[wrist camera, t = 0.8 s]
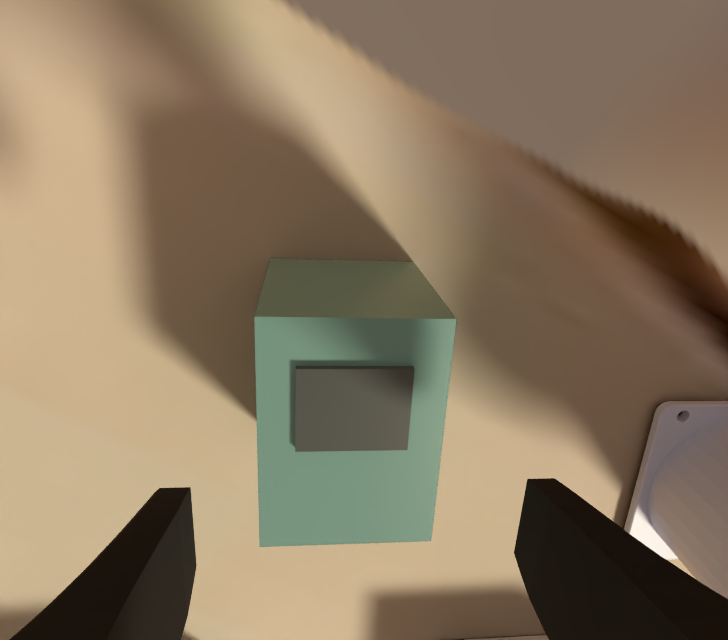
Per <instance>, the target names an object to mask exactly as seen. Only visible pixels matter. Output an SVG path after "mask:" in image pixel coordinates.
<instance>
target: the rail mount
mask: <svg viewBox="0 0 728 640" xmlns="http://www.w3.org/2000/svg"><path fill="white" fill-rule="evenodd" d="M466 640H549V639H548V637H547V635H536V636H519V637H501V638H484V639H466Z"/></svg>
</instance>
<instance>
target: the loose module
mask: <svg viewBox="0 0 728 640" xmlns="http://www.w3.org/2000/svg"><path fill="white" fill-rule="evenodd" d="M456 320H457V319H456V318H455V316H454V315H453V314H452V312H451V311H450V310H449V308H448V307H447V306H446V304H445V303H444V302H443V300H442V299H441V298H440V296H439V295H438V294H437V292H436V291H435V290H434V288H433V287H432V286H431V284H430V283H429V282H428V280H427V279H426V278H425V276H424V275H423V274H422V272H421V271H420V270H419V268H418V267H417V266H416V264H415V263H414V262H410V261H367V260H323V259H280V258H270V262H269V266H268V269H267V273H266V276H265V280H264V283H263V287H262V291H261V294H260V298H259V301H258V305H257V309H256V312H255V316H254V328H255V370H256V412H257V454H258V497H259V539H260V547H271V546H301V545H331V544H361V543H390V542H420V541H431V538H432V529H433V521H434V512H435V503H436V495H437V486H438V477H439V468H440V460H441V451H442V442H443V433H444V425H445V416H446V407H447V398H448V390H449V381H450V372H451V364H452V355H453V346H454V337H455V329H456Z"/></svg>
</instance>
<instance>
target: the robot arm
mask: <svg viewBox="0 0 728 640" xmlns="http://www.w3.org/2000/svg"><path fill="white" fill-rule="evenodd" d="M681 411H683V412H682V414H681V415H680V416H678V414H679V413H680V412H681ZM677 416H678V417H677ZM514 554H515V557H516V560H517V563H518V567H519V570H520V573H521V576H522V579H523V582H524V585H525V587H526V590H527V593H528V596H529V599H530V601H531V603H532V605H533V607H534V609H535V612H536V614H537V616H538V618H539V620H540V622H541V624H542V626H543V628H544V631H545V633H546V635H547V637H548V639H549V640H728V401H668V402H664V403H662V404H661V405H660V406H659V407H658V408H657V409H656V411H655V414H654V418H653V422H652V426H651V430H650V433H649V437H648V441H647V445H646V448H645V452H644V456H643V460H642V463H641V467H640V471H639V475H638V478H637V482H636V486H635V490H634V493H633V497H632V501H631V505H630V508H629V512H628V516H627V520H626V523H625V527H624V529H622V528H621V527H620V526H618V525H617V524H616V523H614V522H613V521H612V520H610V519H609V518H607V517H606V516H605V515H604V514H602V513H601V512H600V511H598V510H597V509H596V508H594V507H593V506H592V505H590V504H589V503H588V502H586V501H585V500H584V499H582V498H581V497H580V496H578V495H577V494H576V493H574V492H573V491H571V490H570V489H569V488H567V487H566V486H565V485H563V484H562V483H560V482H559V481H557V480H556V479H554V478H551V479H528V480H527V485H526V491H525V496H524V501H523V507H522V512H521V518H520V523H519V529H518V534H517V540H516V545H515V551H514ZM666 559H679V560H680V561H681V562H682V563H683V565H684V566H685V567H686V568H687V569H688V570H689V572H690V573H691V574H692V575H693V576H694V577H695V579H694V578H693V577H691V576H690V575H688V574H687V573H685V572H684V571H682V570H681V569H679V568H678V567H676V566H675V565H673V564H672V563H670V562H669V561H667V560H666ZM195 571H196V555H195V542H194V529H193V516H192V503H191V489H190V487H189V488H159V489H158V490H157V491H156V492H155V493H154V494H153V495H152V496H151V497H150V499H149V500H148V501H147V502H146V503H145V504H144V506H143V507H142V508H141V509H140V510H139V511H138V512H137V514H136V515H135V516H134V517H133V518H132V519H131V520H130V522H129V523H128V524H127V525H126V526H125V527H124V528H123V529H122V531H121V532H120V533H119V534H118V535H117V536H116V537H115V538H114V539H113V540H112V542H111V543H110V544H109V545H108V546H107V547H106V548H105V549H104V550H103V551H102V552H101V553H100V554H99V555H98V556H97V558H96V559H95V560H94V561H93V562H92V563H91V564H90V565H89V566H88V567H87V568H86V569H85V570H84V571H83V572H82V573H81V574H80V575H79V576H78V577H77V578H76V579H75V580H74V581H73V582H72V583H71V584H70V585H69V586H68V587H67V588H66V589H65V590H64V591H63V592H62V593H60V594H59V595H58V596H57V597H56V598H55V599H54V600H53V601H52V602H51V603H50V604H49V605H48V606H47V607H46V608H45V609H44V610H43V611H41V612H40V613H39V614H38V615H37V616H36V617H35V618H34V619H33V620H32V621H30V622H29V623H28V624H27V625H26V626H25V627H24V628H22V629H21V630H20V631H19V632H18V633H17V634H16V635H14V636H13V637H12V638H11V639H10V640H181V637H182V634H183V630H184V627H185V623H186V620H187V616H188V610H189V605H190V600H191V594H192V588H193V582H194V577H195Z"/></svg>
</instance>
